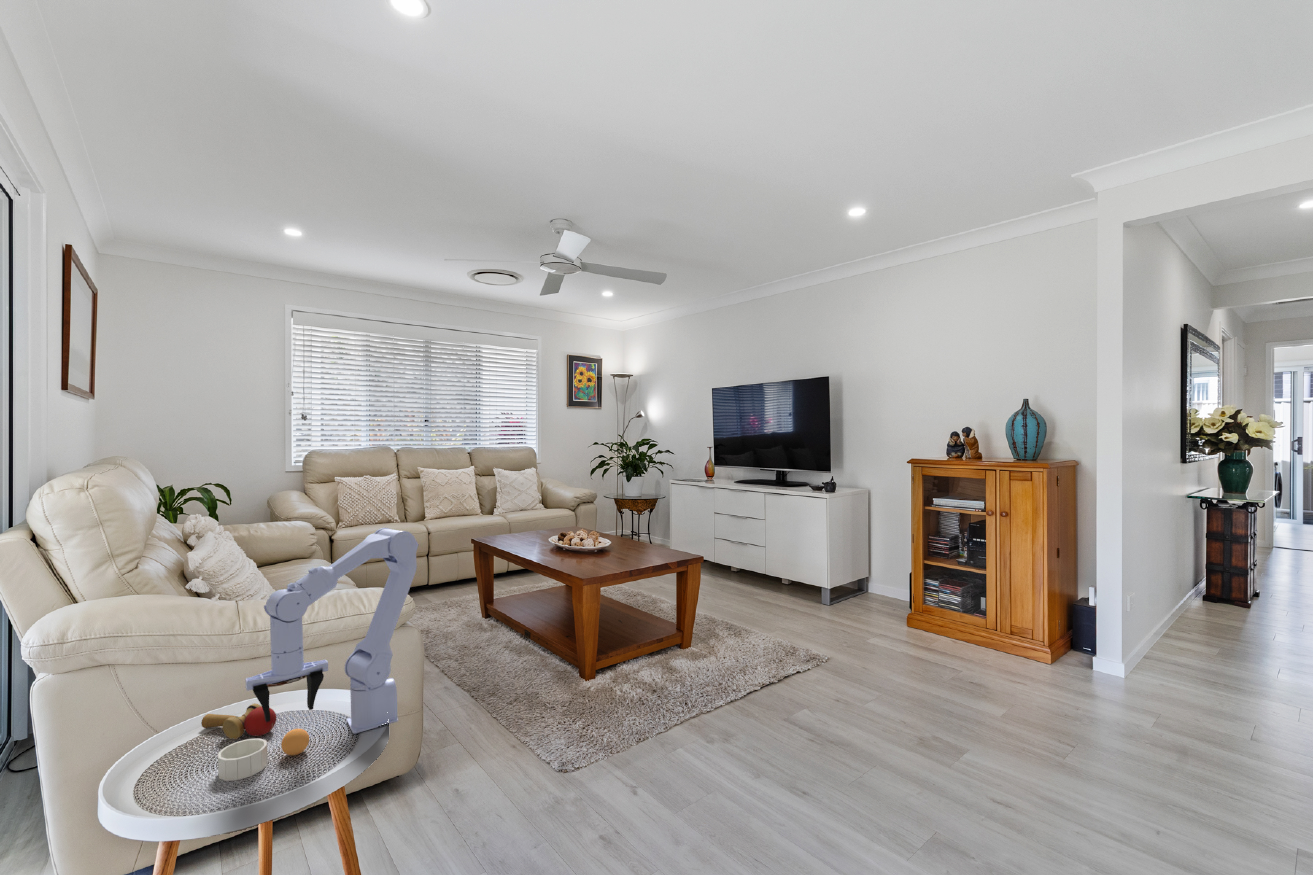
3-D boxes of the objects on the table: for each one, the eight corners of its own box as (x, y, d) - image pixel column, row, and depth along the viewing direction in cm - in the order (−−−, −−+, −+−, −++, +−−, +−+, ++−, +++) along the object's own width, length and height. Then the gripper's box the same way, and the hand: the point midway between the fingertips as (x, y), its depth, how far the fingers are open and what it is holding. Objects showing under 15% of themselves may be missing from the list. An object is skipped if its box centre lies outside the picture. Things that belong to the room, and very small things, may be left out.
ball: (307, 744, 130) (307, 721, 130) (311, 754, 126) (310, 730, 126) (280, 752, 127) (279, 728, 127) (283, 763, 123) (282, 738, 123)
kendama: (188, 743, 134) (254, 740, 130) (190, 712, 135) (255, 709, 131) (221, 732, 141) (285, 729, 137) (222, 703, 143) (285, 700, 138)
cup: (265, 753, 127) (265, 734, 127) (269, 770, 120) (268, 750, 120) (218, 766, 122) (217, 747, 122) (219, 785, 115) (218, 764, 115)
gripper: (322, 635, 134) (324, 696, 134) (242, 652, 124) (244, 718, 124) (329, 643, 128) (331, 707, 128) (247, 662, 119) (249, 731, 119)
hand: (289, 713), depth 126 cm, fingers open, 7 cm apart
